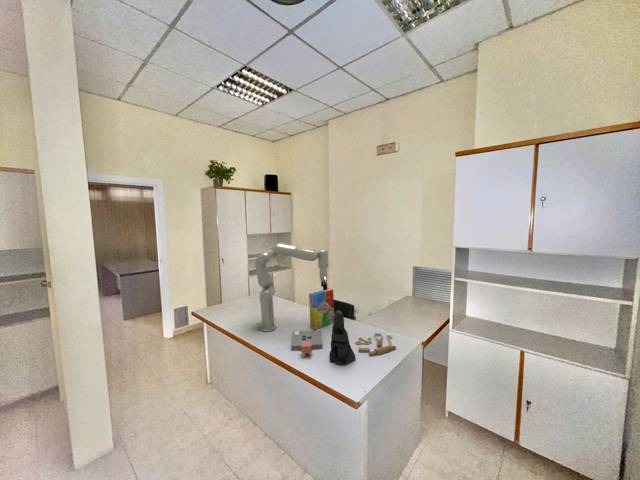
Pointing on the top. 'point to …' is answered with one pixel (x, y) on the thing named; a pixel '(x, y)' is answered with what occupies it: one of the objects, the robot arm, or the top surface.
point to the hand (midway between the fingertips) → (324, 288)
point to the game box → (321, 308)
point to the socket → (306, 339)
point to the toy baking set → (379, 343)
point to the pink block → (306, 348)
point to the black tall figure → (340, 342)
